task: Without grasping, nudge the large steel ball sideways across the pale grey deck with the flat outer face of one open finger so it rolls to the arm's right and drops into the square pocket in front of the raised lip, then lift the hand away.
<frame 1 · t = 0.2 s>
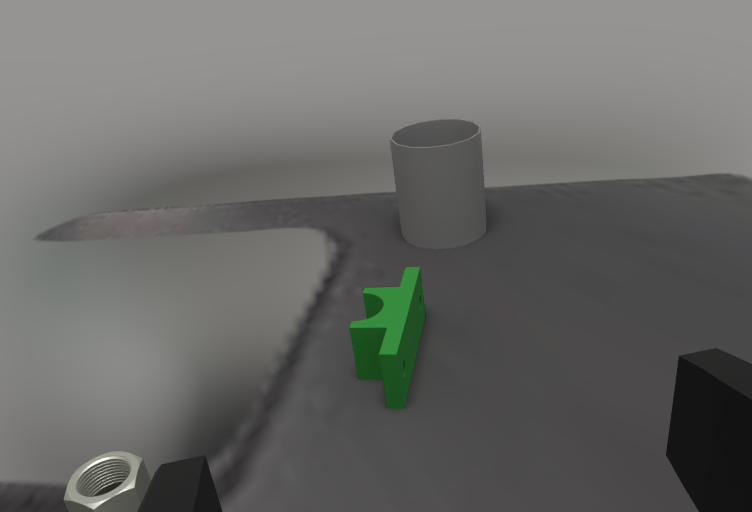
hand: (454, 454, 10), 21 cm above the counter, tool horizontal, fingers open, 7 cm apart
cup: (444, 231, 67), on the counter
pipe clamp: (393, 360, 49), on the counter
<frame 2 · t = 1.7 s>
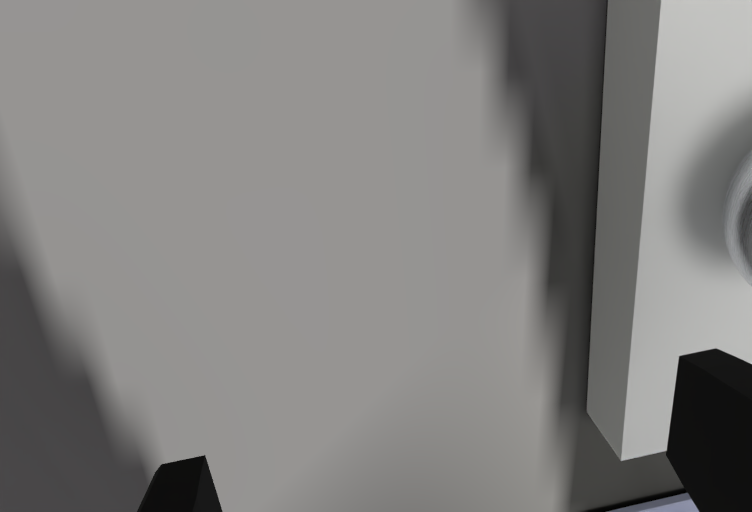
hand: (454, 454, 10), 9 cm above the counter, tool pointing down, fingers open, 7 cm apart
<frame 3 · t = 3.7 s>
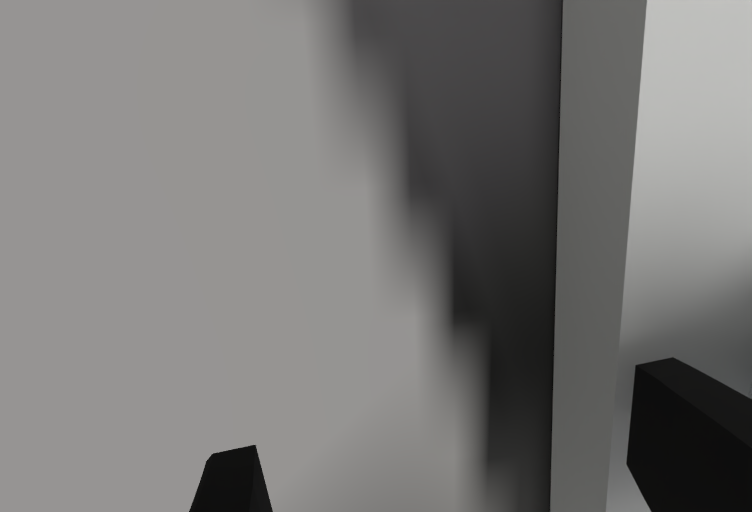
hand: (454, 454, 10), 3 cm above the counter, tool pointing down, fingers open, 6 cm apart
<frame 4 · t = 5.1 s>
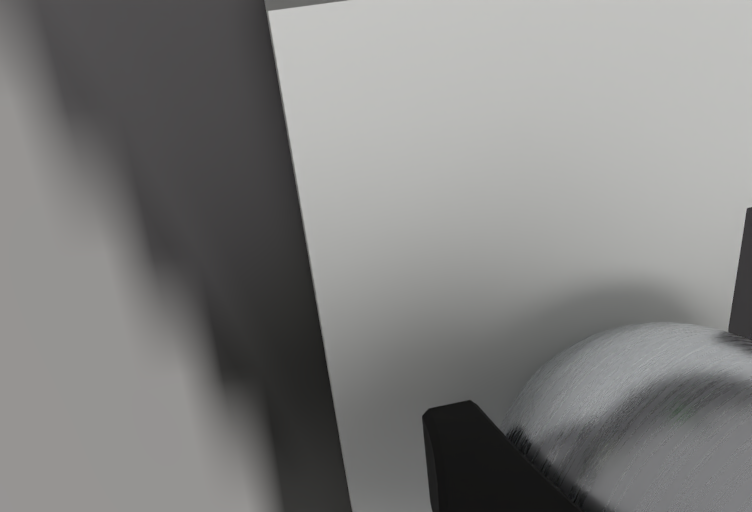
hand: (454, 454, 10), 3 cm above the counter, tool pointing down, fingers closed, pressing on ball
ball: (670, 503, 9), point 5 cm above the counter, tilted 19°, touching deck, gripper
deck: (677, 342, 14), on the counter
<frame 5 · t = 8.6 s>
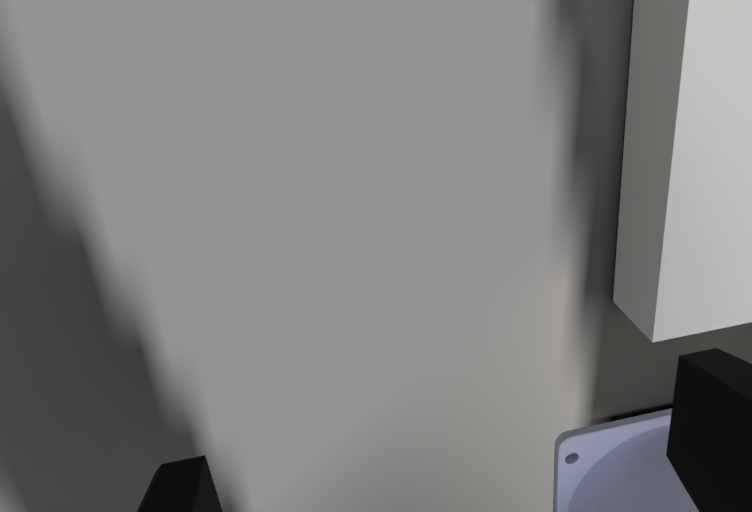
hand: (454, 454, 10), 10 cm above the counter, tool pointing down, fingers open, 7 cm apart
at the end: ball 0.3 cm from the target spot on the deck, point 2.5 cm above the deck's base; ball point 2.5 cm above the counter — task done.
